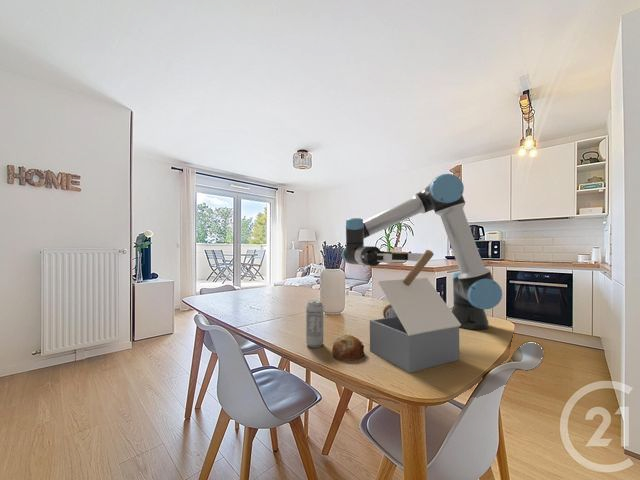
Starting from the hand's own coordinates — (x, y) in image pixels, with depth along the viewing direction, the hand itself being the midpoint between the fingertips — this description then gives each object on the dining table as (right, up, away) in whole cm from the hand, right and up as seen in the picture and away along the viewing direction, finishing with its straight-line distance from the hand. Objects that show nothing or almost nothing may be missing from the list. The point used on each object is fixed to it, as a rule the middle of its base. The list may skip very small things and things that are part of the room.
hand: (407, 257), depth 91 cm
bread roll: (-20, -31, -2) cm, 37 cm away
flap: (+2, -14, -4) cm, 15 cm away
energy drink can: (-30, -31, +7) cm, 44 cm away
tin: (+8, -32, +34) cm, 47 cm away
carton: (+1, -31, -3) cm, 31 cm away
